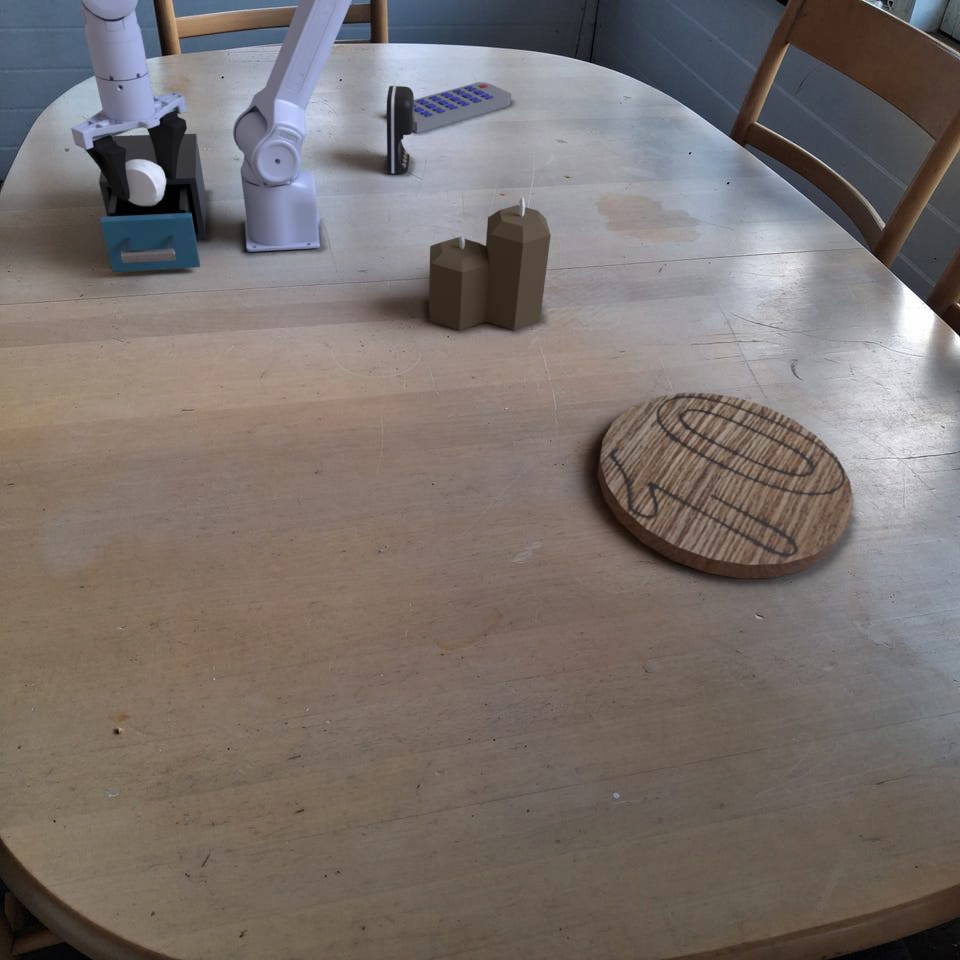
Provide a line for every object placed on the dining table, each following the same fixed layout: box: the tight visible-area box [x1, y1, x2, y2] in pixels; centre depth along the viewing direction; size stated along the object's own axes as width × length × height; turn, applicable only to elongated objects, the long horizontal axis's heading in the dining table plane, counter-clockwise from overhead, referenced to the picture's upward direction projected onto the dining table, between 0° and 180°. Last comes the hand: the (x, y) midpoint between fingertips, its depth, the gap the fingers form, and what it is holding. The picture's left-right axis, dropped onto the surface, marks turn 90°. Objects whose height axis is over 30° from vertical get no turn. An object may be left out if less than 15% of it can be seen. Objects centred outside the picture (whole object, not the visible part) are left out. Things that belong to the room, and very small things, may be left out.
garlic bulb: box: [126, 159, 166, 206], centre depth 109 cm, size 6×6×5 cm
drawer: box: [99, 184, 201, 273], centre depth 113 cm, size 17×10×7 cm, turn 12°
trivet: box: [597, 392, 855, 580], centre depth 91 cm, size 25×25×2 cm
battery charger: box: [386, 84, 415, 175], centre depth 136 cm, size 7×4×11 cm, turn 0°
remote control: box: [412, 81, 512, 134], centre depth 156 cm, size 8×23×2 cm, turn 132°
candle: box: [428, 197, 552, 331], centre depth 107 cm, size 14×14×15 cm
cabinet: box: [98, 133, 207, 241], centre depth 121 cm, size 14×12×9 cm
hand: (145, 187), depth 110 cm, fingers closed on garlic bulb, 6 cm apart
